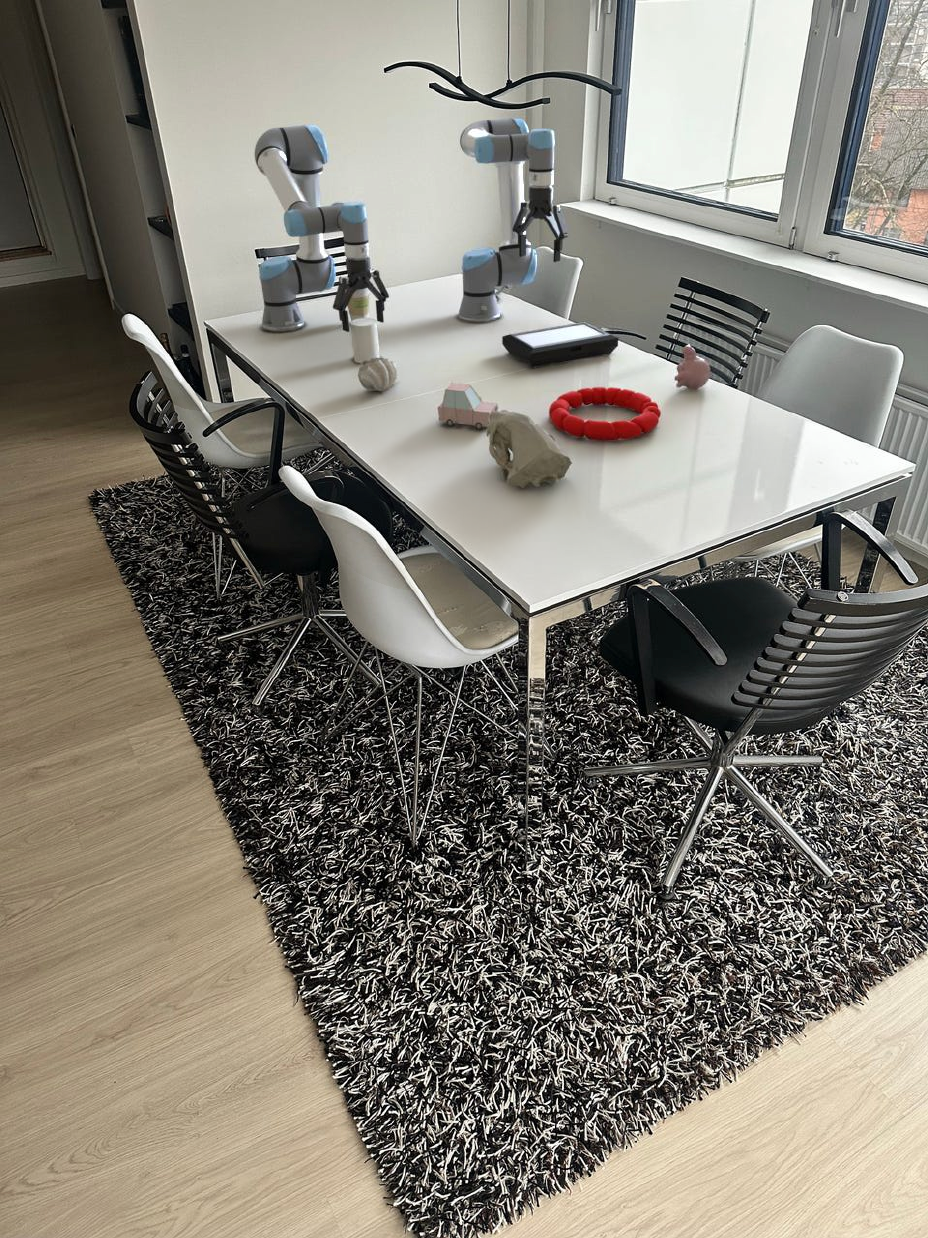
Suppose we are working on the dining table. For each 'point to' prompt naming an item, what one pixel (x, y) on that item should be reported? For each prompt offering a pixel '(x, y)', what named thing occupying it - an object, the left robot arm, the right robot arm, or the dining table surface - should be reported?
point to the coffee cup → (359, 304)
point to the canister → (364, 339)
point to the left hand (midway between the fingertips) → (363, 326)
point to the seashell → (377, 374)
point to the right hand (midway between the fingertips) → (539, 258)
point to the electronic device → (559, 344)
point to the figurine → (692, 370)
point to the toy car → (465, 406)
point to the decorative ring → (604, 428)
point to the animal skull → (525, 450)
